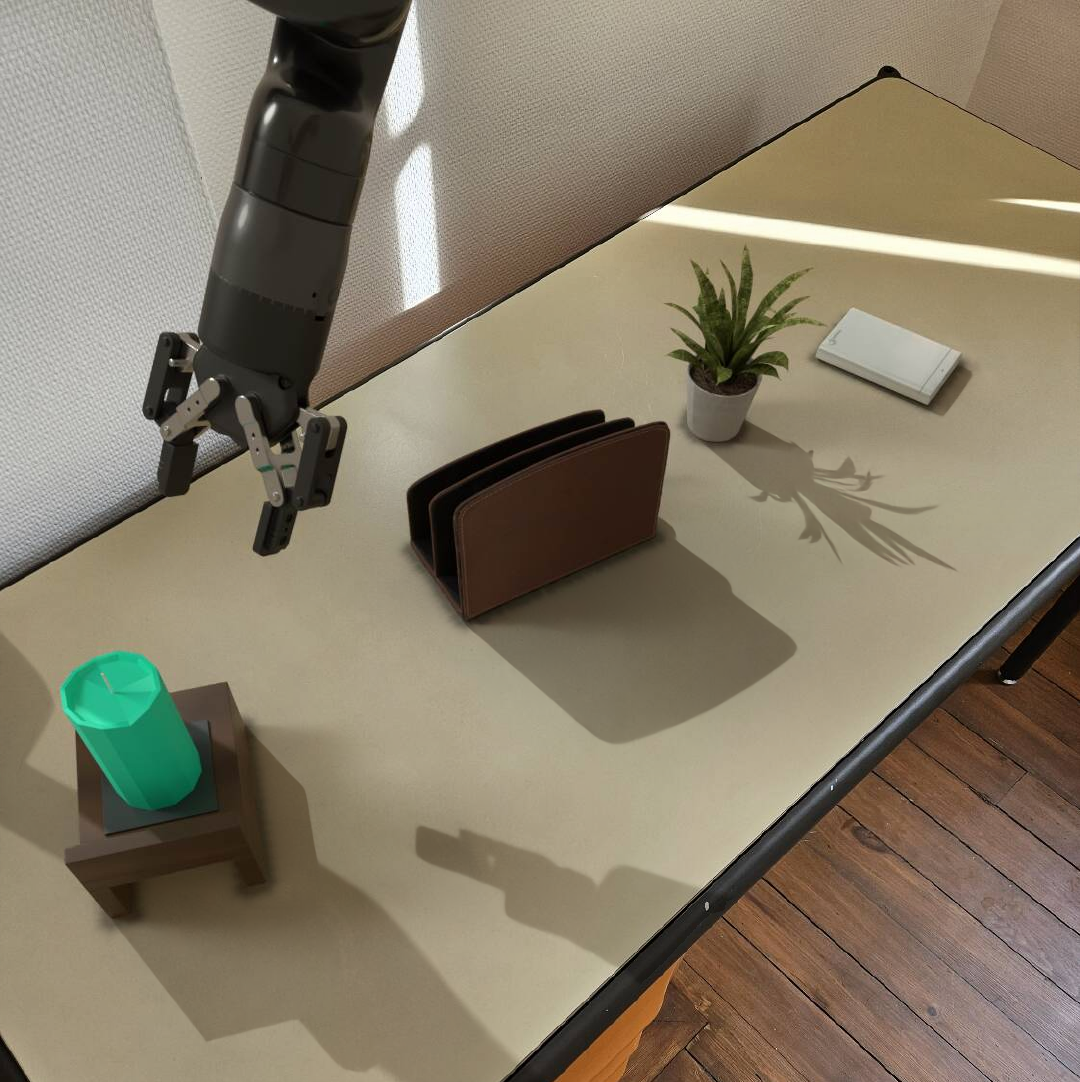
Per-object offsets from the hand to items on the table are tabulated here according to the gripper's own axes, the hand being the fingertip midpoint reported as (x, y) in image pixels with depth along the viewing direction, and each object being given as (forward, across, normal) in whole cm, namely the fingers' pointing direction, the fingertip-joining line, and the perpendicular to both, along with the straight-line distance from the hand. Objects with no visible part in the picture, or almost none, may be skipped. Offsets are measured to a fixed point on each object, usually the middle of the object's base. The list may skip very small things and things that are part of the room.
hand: (219, 523), depth 71 cm
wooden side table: (+22, +4, -2) cm, 23 cm away
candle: (+17, +4, -5) cm, 18 cm away
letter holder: (+2, +10, +30) cm, 32 cm away
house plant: (-12, +16, +50) cm, 54 cm away
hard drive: (-22, +25, +65) cm, 73 cm away
